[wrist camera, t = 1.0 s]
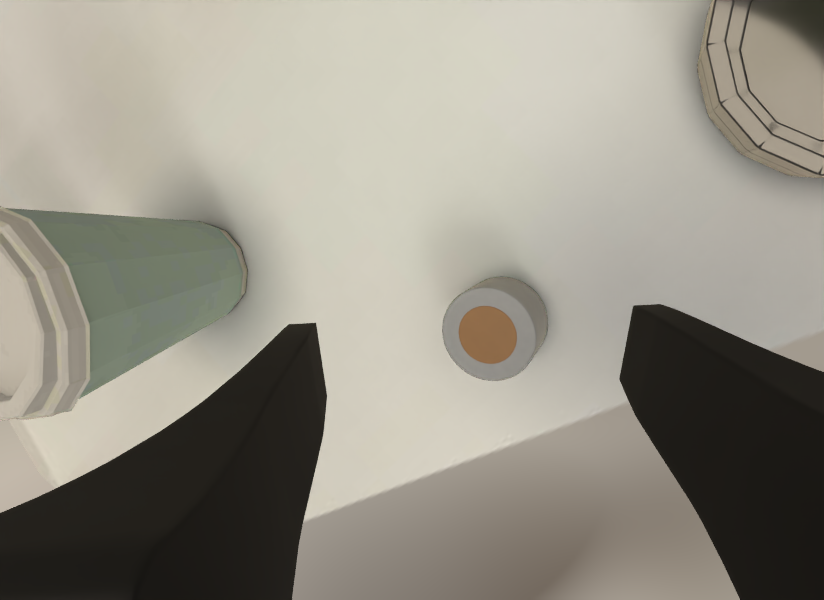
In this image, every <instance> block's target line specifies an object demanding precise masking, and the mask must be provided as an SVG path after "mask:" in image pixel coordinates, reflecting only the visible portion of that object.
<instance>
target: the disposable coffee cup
mask: <svg viewBox="0 0 824 600" xmlns="http://www.w3.org/2000/svg"><path fill="white" fill-rule="evenodd" d="M246 280H247V267H246V264H245V261H244V258H243V255H242V252H241V248H240V247H239V246H238V245H237V244H236V242H235V241H234V240H233V239H232V238H231V237H230V235H229V234H228V233H227V232H226V231H224V230H221V229H219V228H216V227H213V226H211V225H208V224H205V223H202V222H200V221H188V220H173V219H158V218H143V217H128V216H114V215H99V214H84V213H69V212H54V211H39V210H24V209H9V208H3V207H1V206H0V421H3V420H9V419H14V418H16V419H19V420H27V419H34V418H42V417H49V416H53V415H56V414H59V413H62V412H69V411H72V409H73V407H74V406H75V404H76V402H77V401H78V399H80V398H81V397H83V396H85V395H87V394H88V393H90V392H92V391H94V390H95V389H97V388H99V387H101V386H102V385H104V384H106V383H108V382H109V381H111V380H113V379H115V378H116V377H118V376H120V375H122V374H123V373H125V372H127V371H129V370H130V369H132V368H134V367H136V366H137V365H139V364H141V363H143V362H144V361H146V360H148V359H150V358H151V357H153V356H155V355H157V354H158V353H160V352H162V351H164V350H165V349H167V348H169V347H171V346H172V345H174V344H176V343H178V342H179V341H181V340H183V339H185V338H186V337H188V336H190V335H192V334H193V333H195V332H197V331H199V330H200V329H202V328H204V327H206V326H207V325H209V324H211V323H213V322H214V321H216V320H218V319H220V318H221V317H223V316H225V315H227V314H228V313H229V312H230V311H231V310H232V308H233V307H235V305H236V304H237V303H238V301H239V300H240V299H241V297H242V296H243V295H244V293H245V290H246Z"/></svg>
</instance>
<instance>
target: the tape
mask: <svg viewBox="0 0 824 600" xmlns="http://www.w3.org/2000/svg"><path fill="white" fill-rule="evenodd" d="M547 328H548V318H547V312H546V309H545V306H544V304H543V302H542V300H541V299H540V297H539V296H538V295H537V293H536V292H535V291H534V290H533V289H532V288H530V287H529V286H528V285H526V284H525V283H523V282H521V281H519V280H516V279H513V278H509V277H494V278H489V279H486V280H484V281H482V282H480V283H478V284H477V285H475V286H473V287H472V288H470V289H468V290H467V291H465V292H463V293H462V294H460V295H459V296H458V297H456V298H455V299H454V300H453V301H452V303H451V304H450V305H449V307H448V309H447V311H446V313H445V316H444V319H443V326H442V332H443V339H444V344H445V346H446V349H447V351H448V353H449V355H450V356H451V358H452V359H453V361H454V362H455V363H456V364H457V365H458V366H459V367H460V368H461V369H462V370H464V371H465V372H467V373H468V374H470V375H472V376H474V377H476V378H480V379H483V380H489V381H499V380H505V379H508V378H511V377H513V376H515V375H517V374H519V373H520V372H521V371H523V370H524V369H525V368H526V367H527V365H528V364H529V363H530V361H531V360H532V358H533V357H534V355H535V354H536V352H537V351H538V349H539V348H540V346H541V345H542V343H543V341H544V339H545V336H546V333H547Z"/></svg>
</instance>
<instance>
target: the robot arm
mask: <svg viewBox="0 0 824 600" xmlns="http://www.w3.org/2000/svg"><path fill="white" fill-rule="evenodd" d="M620 382H621V384H622V386H623V389H624V391H625V393H626V396H627V398H628V400H629V402H630V405H631V407H632V409H633V411H634V413H635V415H636V417H637V419H638V420H639V422H640V423H641V425H642V427H643V428H644V430H645V432H646V433H647V435H648V436H649V438H650V439H651V441H652V443H653V444H654V446H655V447H656V449H657V450H658V452H659V454H660V455H661V457H662V458H663V459H664V461H665V463H666V464H667V466H668V467H669V469H670V471H671V472H672V474H673V475H674V477H675V478H676V480H677V481H678V483H679V484H680V486H681V488H682V489H683V491H684V492H685V493H686V495H687V497H688V498H689V500H690V502H691V503H692V505H693V507H694V509H695V510H696V512H697V514H698V515H699V517H700V519H701V521H702V522H703V524H704V526H705V528H706V530H707V532H708V534H709V536H710V538H711V540H712V542H713V544H714V546H715V548H716V550H717V552H718V554H719V556H720V558H721V560H722V562H723V564H724V566H725V568H726V570H727V572H728V574H729V577H730V579H731V581H732V583H733V585H734V587H735V589H736V591H737V594H738V596H739V598H740V600H824V372H822V371H819V370H816V369H813V368H811V367H808V366H805V365H803V364H801V363H798V362H795V361H793V360H791V359H788V358H786V357H783V356H781V355H778V354H776V353H774V352H771V351H769V350H766V349H764V348H762V347H759V346H757V345H755V344H753V343H750V342H748V341H746V340H744V339H741V338H739V337H737V336H735V335H732V334H730V333H728V332H726V331H724V330H721V329H719V328H717V327H715V326H712V325H710V324H708V323H706V322H704V321H701V320H699V319H697V318H695V317H692V316H690V315H688V314H685V313H683V312H681V311H678V310H676V309H673V308H670V307H667V306H664V305H661V304H656V305H637V306H633V310H632V316H631V321H630V326H629V331H628V337H627V342H626V347H625V352H624V358H623V363H622V368H621V373H620ZM326 400H327V393H326V387H325V380H324V374H323V367H322V360H321V354H320V347H319V341H318V334H317V327H316V323H307V324H289V325H288V326H287V327H285V328H284V329H283V330H282V331H281V332H280V333H279V334H278V335H277V336H276V337H275V338H274V339H273V340H272V341H271V342H270V343H269V344H268V345H267V346H266V347H265V348H264V349H262V350H261V351H260V352H259V353H258V354H257V355H256V356H255V357H254V358H253V359H252V360H251V361H250V362H249V363H248V364H246V365H245V366H244V367H243V368H242V369H241V370H240V371H239V372H238V373H237V374H235V375H234V376H233V377H232V378H231V379H229V380H228V381H227V382H226V383H225V384H223V385H222V386H221V387H220V388H219V389H217V390H216V391H215V392H214V393H213V394H212V395H210V396H209V397H208V398H207V399H205V400H204V401H203V402H201V403H200V404H199V405H198V406H196V407H195V408H193V409H192V410H191V411H189V412H188V413H187V414H185V415H184V416H182V417H181V418H179V419H178V420H176V421H175V422H173V423H172V424H171V425H169V426H168V427H166V428H165V429H163V430H162V431H160V432H158V433H157V434H155V435H153V436H152V437H150V438H148V439H147V440H145V441H143V442H142V443H140V444H138V445H137V446H135V447H133V448H132V449H130V450H128V451H127V452H125V453H123V454H121V455H120V456H118V457H116V458H115V459H113V460H111V461H109V462H107V463H106V464H104V465H102V466H100V467H98V468H96V469H94V470H92V471H90V472H88V473H86V474H85V475H83V476H81V477H79V478H77V479H75V480H72V481H70V482H68V483H66V484H64V485H62V486H60V487H58V488H56V489H54V490H52V491H50V492H48V493H45V494H43V495H41V496H39V497H37V498H35V499H32V500H30V501H28V502H25V503H23V504H21V505H18V506H16V507H14V508H11V509H9V510H7V511H4V512H2V513H0V600H292V593H293V585H294V577H295V569H296V562H297V554H298V545H299V540H300V535H301V529H302V524H303V520H304V515H305V511H306V507H307V503H308V498H309V494H310V490H311V485H312V481H313V477H314V473H315V468H316V464H317V460H318V455H319V451H320V446H321V442H322V437H323V431H324V422H325V411H326Z"/></svg>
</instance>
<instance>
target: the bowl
mask: <svg viewBox="0 0 824 600" xmlns="http://www.w3.org/2000/svg"><path fill="white" fill-rule="evenodd" d="M697 67H698V68H697V71H698V76H699V80H700V84H701V88H702V93H703V97H704V101H705V105H706V110H707V114H708V115H709V118H710V119H711V120H712V121H713V123H714V124H715V125H716V126H717V127H718V129H719V130H720V131H721V132H722V133H723V134H724V136H725V137H726V138H727V139H728V140H729V141H730V143H731V144H732V145H733V146H734V147H735V148H736V150H737V151H738V152H739V153H741V154H742V155H744V156H746V157H748V158H750V159H753V160H755V161H757V162H759V163H762V164H764V165H766V166H768V167H770V168H773V169H775V170H777V171H779V172H782V173H784V174H786V175H789V176H796V177H814V178H824V0H712V1H711V4H710V7H709V10H708V13H707V17H706V23H705V28H704V33H703V38H702V43H701V48H700V53H699V58H698V63H697Z"/></svg>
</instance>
